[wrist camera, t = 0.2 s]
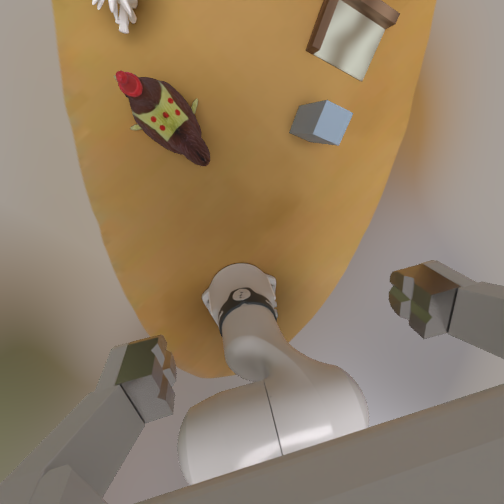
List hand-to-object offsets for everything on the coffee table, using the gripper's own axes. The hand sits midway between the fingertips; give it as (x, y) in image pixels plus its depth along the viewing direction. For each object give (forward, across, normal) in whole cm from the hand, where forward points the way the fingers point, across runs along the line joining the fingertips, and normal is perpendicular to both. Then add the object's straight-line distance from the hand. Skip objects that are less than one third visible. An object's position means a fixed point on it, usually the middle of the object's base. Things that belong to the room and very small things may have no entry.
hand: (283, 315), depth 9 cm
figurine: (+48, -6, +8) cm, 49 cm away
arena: (+48, +28, +16) cm, 57 cm away
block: (+48, +20, +3) cm, 51 cm away
